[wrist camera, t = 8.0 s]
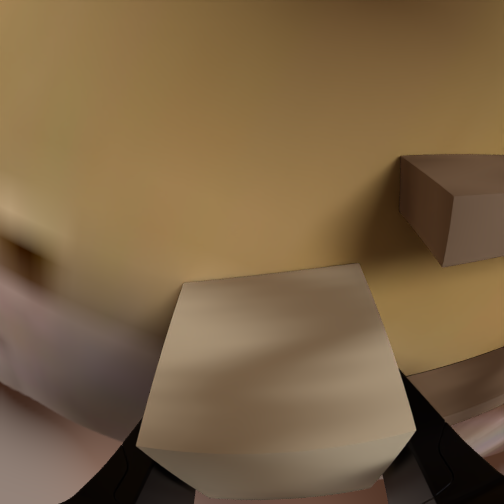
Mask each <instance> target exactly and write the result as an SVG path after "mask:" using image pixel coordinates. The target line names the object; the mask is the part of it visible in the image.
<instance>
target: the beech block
mask: <svg viewBox="0 0 504 504" xmlns="http://www.w3.org/2000/svg"><path fill="white" fill-rule="evenodd" d="M415 431H416V427H415V423H414V419H413V416H412V412H411V408H410V405H409V401H408V398H407V395H406V391H405V388H404V385H403V381H402V378H401V375H400V372H399V369H398V366H397V363H396V360H395V357H394V354H393V351H392V348H391V345H390V342H389V339H388V336H387V334H386V331H385V328H384V325H383V322H382V320H381V317H380V314H379V312H378V309H377V307H376V304H375V301H374V299H373V296H372V294H371V291H370V289H369V286H368V284H367V281H366V279H365V276H364V274H363V271H362V269H361V267H360V264H359V263H355V264H347V265H340V266H332V267H324V268H316V269H308V270H299V271H291V272H282V273H274V274H265V275H256V276H247V277H238V278H228V279H219V280H209V281H199V282H189V283H183V286H182V289H181V292H180V295H179V298H178V301H177V304H176V307H175V311H174V314H173V317H172V320H171V323H170V326H169V329H168V333H167V336H166V339H165V342H164V346H163V349H162V352H161V356H160V359H159V362H158V366H157V369H156V373H155V376H154V380H153V383H152V387H151V390H150V394H149V398H148V401H147V405H146V409H145V412H144V416H143V420H142V424H141V428H140V432H139V435H138V439H137V443H136V446H137V447H138V448H139V449H140V450H142V451H143V452H144V453H145V454H147V455H148V456H149V457H151V458H152V459H153V460H154V461H156V462H157V463H158V464H160V465H161V466H162V467H164V468H165V469H167V470H168V471H169V472H171V473H172V474H174V475H175V476H176V477H178V478H179V479H181V480H182V481H184V482H185V483H187V484H188V485H190V486H191V487H193V488H194V489H196V490H198V491H199V492H201V493H202V494H204V495H206V496H207V497H209V498H218V499H238V500H239V499H240V500H270V499H293V498H306V497H316V496H325V495H333V494H339V493H346V492H352V491H357V490H362V489H368V488H371V486H372V485H373V484H374V483H375V482H376V481H377V480H378V479H379V478H380V476H381V475H382V474H383V473H384V472H385V471H386V469H387V468H388V467H389V466H390V464H391V463H392V462H393V461H394V459H395V458H396V457H397V456H398V454H399V453H400V452H401V450H402V449H403V448H404V447H405V445H406V444H407V442H408V441H409V440H410V438H411V437H412V436H413V434H414V433H415Z"/></svg>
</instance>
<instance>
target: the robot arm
mask: <svg viewBox="0 0 504 504" xmlns="http://www.w3.org/2000/svg"><path fill="white" fill-rule="evenodd" d="M398 369H399V368H398ZM399 372H400V375H401V378H402V381H403V385H404V388H405V391H406V395H407V398H408V401H409V405H410V408H411V412H412V416H413V419H414V423H415V427H416V431H415V433H414V434H413V436H412V437H411V438H410V440H409V441H408V442H407V444H406V445H405V447H404V448H403V449H402V450H401V452H400V453H399V454H398V456H397V457H396V458H395V459H394V461H393V462H392V463H391V464H390V466H389V467H388V468H387V469H386V471H385V472H384V473H383V479H384V483H385V488H386V493H387V498H388V504H504V475H502V474H501V473H499V472H498V471H497V470H496V469H495V468H494V467H492V466H491V465H490V464H489V463H488V462H487V461H486V460H484V459H483V458H482V457H481V456H480V455H479V454H478V453H477V452H475V451H474V450H473V449H472V448H471V447H470V446H469V445H468V444H467V443H466V442H465V441H464V440H463V439H462V438H461V437H460V436H459V435H458V434H457V433H456V432H455V431H454V430H453V429H452V427H451V426H450V425H449V424H448V423H447V422H445V419H444V418H443V417H442V416H441V415H440V414H439V413H438V412H437V410H436V409H435V408H434V407H433V406H432V405H431V404H430V403H429V401H428V400H427V399H426V398H425V397H424V396H423V395H422V394H421V392H420V391H419V390H418V389H417V388H416V387H415V386H414V385H413V384H412V382H411V381H410V380H409V379H408V378H407V377H406V376H405V375H404V374H403V373H402V371H401V370H400V369H399ZM142 420H143V418H142V419H141V420H140V422H139V423H138V424H137V425H136V427H135V428H134V429H133V431H132V432H131V433H130V434H129V436H128V437H127V438H126V440H125V441H124V442H123V444H122V445H121V446H120V447H119V449H118V450H117V451H116V452H115V454H114V455H113V456H112V457H111V458H110V460H109V461H108V462H107V463H106V464H105V465H104V467H102V469H101V470H100V471H99V472H98V473H97V474H96V475H95V476H94V477H93V478H92V479H91V480H90V481H89V482H88V483H87V484H86V485H85V486H83V488H81V489H80V490H79V492H77V493H76V494H75V495H74V496H73V497H71V498H70V499H68V500H66V501H65V502H62V503H60V504H194V498H195V490H196V489H194V488H193V487H191V486H190V485H188V484H187V483H185V482H184V481H182V480H181V479H179V478H178V477H176V476H175V475H174V474H172V473H171V472H169V471H168V470H167V469H165V468H164V467H162V466H161V465H160V464H158V463H157V462H156V461H154V460H153V459H152V458H151V457H149V456H148V455H147V454H145V453H144V452H143V451H142V450H140V449H139V448H138V447H137V446H136V443H137V439H138V435H139V432H140V428H141V424H142Z"/></svg>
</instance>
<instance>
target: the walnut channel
mask: <svg viewBox="0 0 504 504" xmlns="http://www.w3.org/2000/svg"><path fill="white" fill-rule="evenodd" d="M399 212H400V213H401V214H402V216H403V217H404V218H405V219H406V220H407V222H408V223H409V224H410V225H411V227H412V228H413V229H414V230H415V232H416V233H417V234H418V236H419V237H420V238H421V239H422V241H423V242H424V243H425V245H426V246H427V247H428V249H429V250H430V251H431V253H432V254H433V255H434V257H435V258H436V259H437V261H438V262H439V264H440V265H441V266H442V267H448V266H453V265H459V264H464V263H470V262H475V261H480V260H485V259H491V258H496V257H501V256H504V155H475V154H444V155H408V156H401V168H400V203H399ZM407 378H408V379H409V380H410V381H411V382H412V384H413V385H414V386H415V387H416V388H417V389H418V390H419V391H420V392H421V394H422V395H423V396H424V397H425V398H426V399H427V400H428V401H429V403H430V404H431V405H432V406H433V407H434V408H435V409H436V410H437V412H438V413H439V414H440V415H441V416H442V417H443V418H444V419H445V422H447V423H448V424H449V425H450V426H451V425H454V424H457V423H459V422H462V421H465V420H467V419H470V418H472V417H475V416H477V415H480V414H482V413H485V412H487V411H489V410H491V409H494V408H496V407H498V406H500V405H502V404H504V347H502V348H500V349H497V350H494V351H492V352H489V353H486V354H483V355H480V356H477V357H474V358H471V359H468V360H465V361H462V362H459V363H456V364H452V365H449V366H446V367H442V368H439V369H435V370H431V371H427V372H424V373H420V374H416V375H412V376H407Z"/></svg>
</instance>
